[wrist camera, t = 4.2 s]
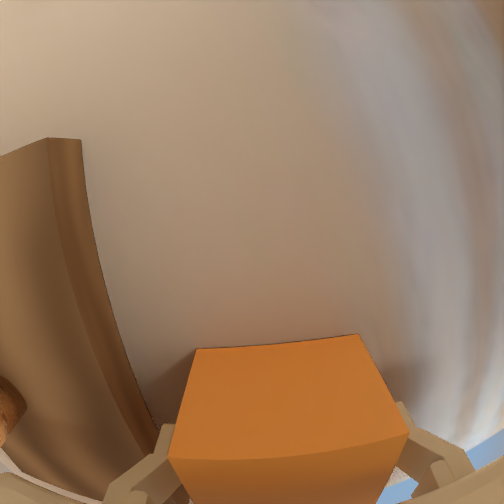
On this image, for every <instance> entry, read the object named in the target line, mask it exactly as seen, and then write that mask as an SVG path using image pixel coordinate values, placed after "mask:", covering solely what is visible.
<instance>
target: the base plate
mask: <svg viewBox="0 0 504 504" xmlns="http://www.w3.org/2000/svg"><path fill="white" fill-rule="evenodd" d="M0 376H2V377H4V378H5V379H7V380H8V381H9V382H10V383H11V384H12V385H13V386H14V387H15V388H16V389H17V390H18V391H19V392H20V394H21V395H22V397H23V398H24V400H25V402H26V405H27V411H26V412H25V414H24V415H23V417H22V418H21V419H20V421H19V422H18V423H17V425H16V426H15V428H14V429H13V430H12V432H11V433H10V435H9V436H8V438H7V439H6V440H5V442H4V443H3V445H2V446H1V448H2V449H3V450H4V451H5V453H6V454H7V455H8V456H9V457H10V459H11V460H12V461H13V462H14V463H15V464H16V465H17V467H18V468H19V469H20V470H21V471H22V472H24V473H26V474H28V475H30V476H32V477H35V478H37V479H39V480H42V481H44V482H47V483H49V484H51V485H54V486H57V487H59V488H62V489H65V490H68V491H70V492H73V493H76V494H79V495H82V496H86V497H89V498H92V499H96V500H99V501H103V500H104V497H105V495H106V492H107V489H108V487H109V484H110V483H111V482H113V481H114V480H116V479H117V478H118V477H120V476H121V475H122V474H124V473H125V472H126V471H128V470H129V469H131V468H132V467H133V466H134V465H136V464H137V463H138V462H140V461H141V460H142V459H144V458H145V457H146V456H148V455H149V454H153V453H154V450H155V447H156V443H157V440H158V437H159V433H158V431H157V429H156V427H155V425H154V423H153V420H152V418H151V416H150V414H149V411H148V409H147V407H146V405H145V402H144V400H143V397H142V395H141V393H140V390H139V388H138V385H137V383H136V380H135V377H134V375H133V372H132V369H131V367H130V364H129V361H128V359H127V356H126V353H125V350H124V347H123V344H122V341H121V338H120V335H119V332H118V329H117V326H116V322H115V319H114V316H113V312H112V309H111V305H110V302H109V298H108V295H107V291H106V287H105V283H104V279H103V275H102V271H101V267H100V263H99V258H98V254H97V249H96V244H95V239H94V234H93V229H92V224H91V218H90V212H89V206H88V199H87V193H86V185H85V177H84V169H83V159H82V148H81V140H79V139H64V138H44V139H42V140H39V141H37V142H34V143H32V144H29V145H27V146H24V147H22V148H20V149H17V150H15V151H13V152H10V153H8V154H6V155H4V156H2V157H0ZM189 497H190V496H189V494H188V493H187V491H186V489H185V488H184V486H183V484H181V485H180V486H179V487H178V488H177V489H176V490H175V491H174V492H173V494H172V495H171V496H170V497H169V498H168V499H167V500H166V501H165V502H164V503H163V504H189Z"/></svg>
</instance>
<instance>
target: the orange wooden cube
mask: <svg viewBox="0 0 504 504" xmlns="http://www.w3.org/2000/svg"><path fill="white" fill-rule="evenodd" d="M409 433H410V431H409V429H408V427H407V425H406V423H405V421H404V419H403V417H402V415H401V413H400V411H399V409H398V407H397V405H396V403H395V401H394V399H393V398H392V396H391V394H390V392H389V390H388V388H387V386H386V384H385V382H384V380H383V378H382V377H381V375H380V373H379V371H378V369H377V367H376V365H375V364H374V362H373V360H372V358H371V356H370V354H369V353H368V351H367V349H366V347H365V345H364V344H363V342H362V340H361V338H360V336H359V335H358V334H354V335H348V336H341V337H334V338H326V339H318V340H310V341H301V342H292V343H282V344H271V345H259V346H245V347H230V348H209V349H196V353H195V356H194V360H193V363H192V367H191V370H190V374H189V377H188V381H187V385H186V388H185V392H184V396H183V399H182V403H181V406H180V410H179V414H178V418H177V421H176V425H175V429H174V433H173V436H172V440H171V444H170V448H169V452H168V456H167V458H168V460H169V461H170V463H171V465H172V467H173V469H174V471H175V472H176V474H177V476H178V478H179V479H180V481H181V483H182V484H183V486H184V488H185V489H186V491H187V493H188V494H189V496H190V498H191V499H192V501H193V502H194V504H376V502H377V500H378V498H379V496H380V495H381V493H382V491H383V489H384V487H385V485H386V483H387V481H388V480H389V478H390V476H391V474H392V471H393V469H394V467H395V465H396V463H397V461H398V459H399V457H400V454H401V452H402V450H403V448H404V445H405V443H406V441H407V438H408V436H409Z"/></svg>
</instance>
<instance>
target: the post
mask: <svg viewBox="0 0 504 504" xmlns="http://www.w3.org/2000/svg"><path fill="white" fill-rule="evenodd" d="M26 411H27V405H26V402H25V400H24V398H23V397H22V395H21V394H20V392H19V391H18V390H17V389H16V388H15V387H14V386H13V385H12V384H11V383H10V382H9V381H8V380H7V379H5V378H4V377H2V376H0V448H1V446H2V445H3V443H4V442H5V440H6V439H7V438H8V436H9V435H10V433H11V432H12V430H13V429H14V428H15V426H16V425H17V423H18V422H19V421H20V419H21V418H22V417H23V415H24V414H25V412H26Z"/></svg>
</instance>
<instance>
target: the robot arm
mask: <svg viewBox="0 0 504 504" xmlns="http://www.w3.org/2000/svg"><path fill="white" fill-rule="evenodd" d="M395 403H396V405H397V407H398V409H399V411H400V413H401V415H402V417H403V419H404V421H405V423H406V425H407V427H408V429H409V431H410V433H409V436H408V438H407V441H406V443H405V445H404V448H403V450H402V452H401V454H400V457H399V459H398V461H397V463H396V466H397V467H398V468H399V469H401V470H402V471H403V472H405V473H406V474H407V475H409V476H410V477H411V478H413V479H414V480H415V481H417V482H418V483H419V484H418V486H417V487H416V489H415V490H414V492H413V493H412V495H411V496H412V499H410V500H407V501H404V502H401V503H397V504H504V455H503V456H501V457H500V458H498V459H496V460H495V461H493V462H491V463H489V464H488V465H486V466H484V467H482V468H480V469H479V470H477V471H475V469H474V467H473V466H472V464H471V462H470V460H469V459H468V457H467V455H466V453H465V451H464V450H463V449H461V448H459V447H457V446H455V445H453V444H451V443H449V442H447V441H445V440H443V439H441V438H439V437H437V436H435V435H433V434H431V433H429V432H427V431H425V430H424V429H422V428H416V426H415V424H414V422H413V420H412V418H411V417H410V415H409V413H408V411H407V409H406V407H405V406H404V404H403V402H401V401H399V402H395ZM175 425H176V424H166V423H164V424H163V426H162V427H161V430H160V434H159V437H158V440H157V443H156V447H155V450H154V453H153V454H149V455H148V456H146V457H145V458H144V459H142V460H141V461H140V462H138V463H137V464H136V465H134V466H133V467H132V468H131V469H129V470H128V471H126V472H125V473H124V474H122V475H121V476H120V477H118V478H117V479H116V480H114V481H113V482H111V483H110V484H109V487H108V489H107V492H106V495H105V497H104V500H103V503H102V504H163V503H164V502H165V501H166V500H167V499H168V498H169V497H170V496H171V495H172V494H173V492H174V491H175V490H176V489H177V488H178V487H179V486H180V485H181V484H182V483H181V481H180V479H179V478H178V476H177V474H176V472H175V471H174V469H173V467H172V465H171V463H170V461H169V460H168V458H167V456H168V452H169V448H170V444H171V440H172V436H173V433H174V429H175ZM0 504H85V503H82V502H79V501H76V500H74V499H71V498H68V497H65V496H63V495H60V494H57V493H55V492H52V491H50V490H48V489H45V488H43V487H40V486H38V485H36V484H34V483H32V482H29V481H27V480H25V479H23V478H21V477H19V476H17V475H15V474H13V473H10V472H6V473H2V474H0Z"/></svg>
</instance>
